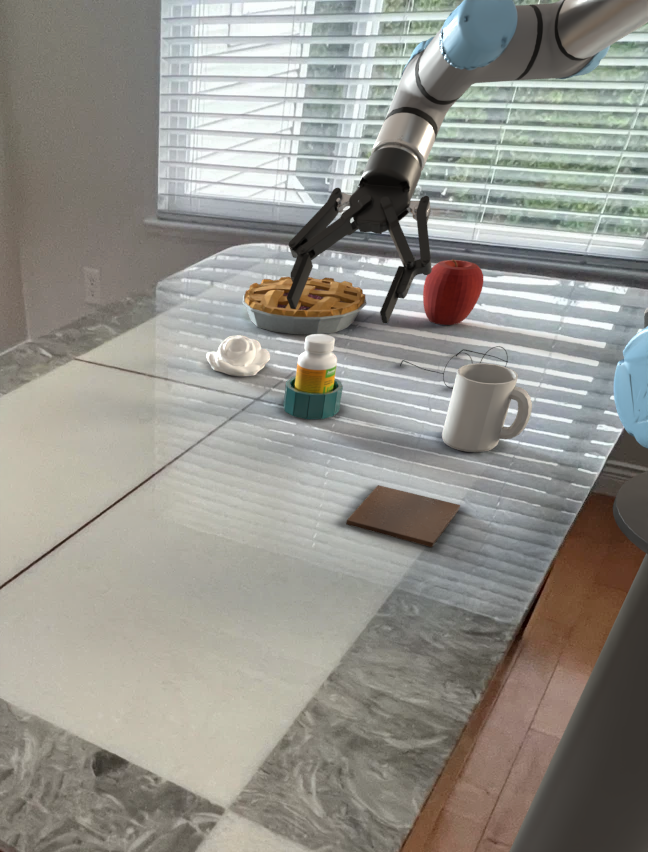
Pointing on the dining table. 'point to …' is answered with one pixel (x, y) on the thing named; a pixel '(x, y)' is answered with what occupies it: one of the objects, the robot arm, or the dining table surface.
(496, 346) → the eyeglasses
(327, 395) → the teal bowl
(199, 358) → the dining table surface
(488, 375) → the cup
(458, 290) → the apple
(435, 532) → the coaster
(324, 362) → the supplement bottle
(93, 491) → the dining table surface
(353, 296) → the pie
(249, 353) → the rose
